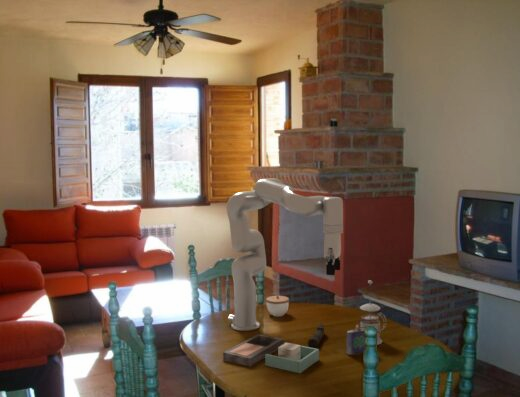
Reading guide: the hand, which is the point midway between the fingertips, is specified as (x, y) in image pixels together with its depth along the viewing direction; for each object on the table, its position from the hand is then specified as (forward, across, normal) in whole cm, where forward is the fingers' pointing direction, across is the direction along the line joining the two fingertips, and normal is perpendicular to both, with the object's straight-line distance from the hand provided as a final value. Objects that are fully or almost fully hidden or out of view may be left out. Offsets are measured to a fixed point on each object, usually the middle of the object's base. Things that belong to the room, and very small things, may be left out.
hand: (333, 272), depth 214 cm
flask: (+30, +4, +10) cm, 32 cm away
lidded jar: (+30, -34, -35) cm, 57 cm away
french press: (+30, -11, +13) cm, 34 cm away
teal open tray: (+30, +21, -11) cm, 38 cm away
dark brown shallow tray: (+30, +16, -27) cm, 43 cm away
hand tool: (+30, -5, -8) cm, 32 cm away
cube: (+30, +21, -12) cm, 38 cm away
